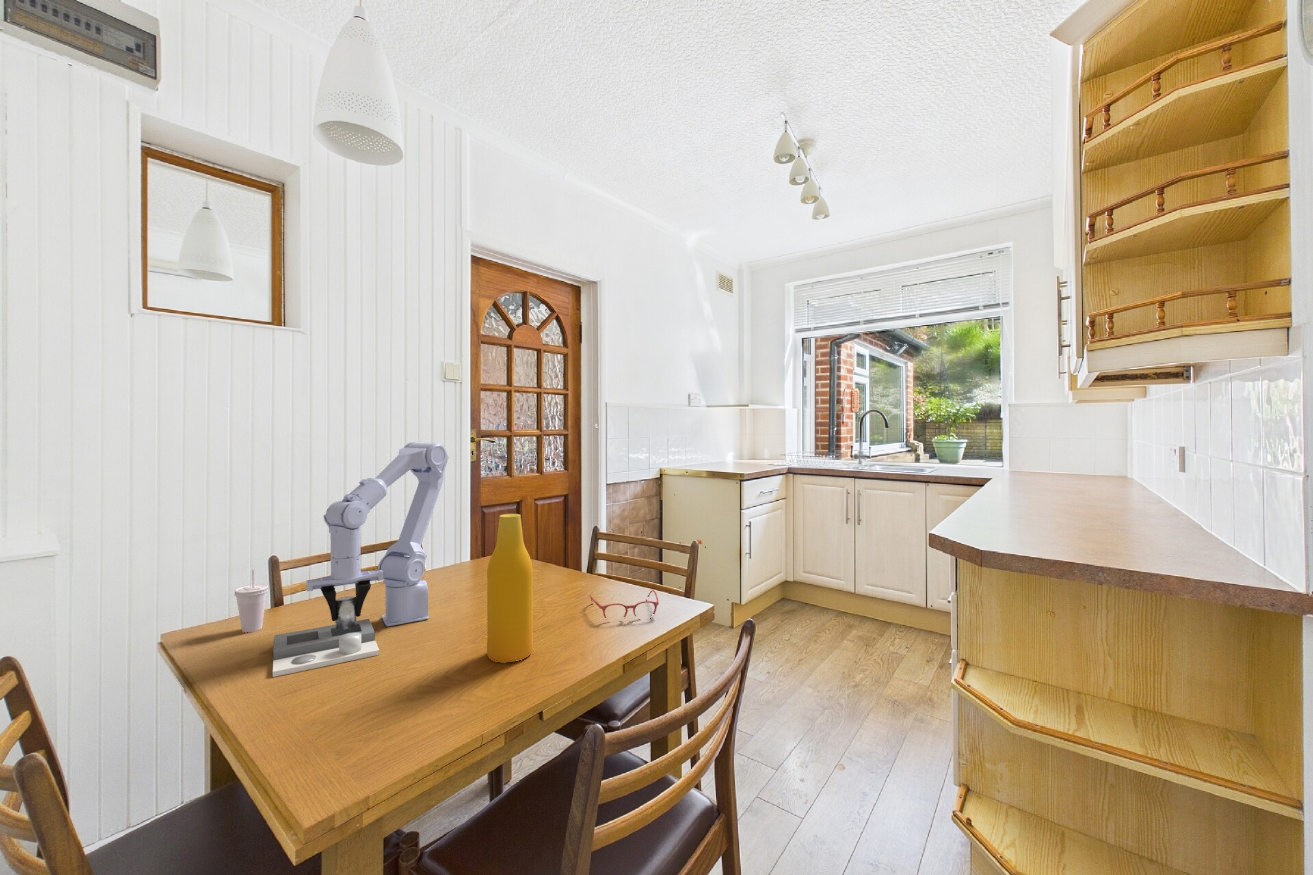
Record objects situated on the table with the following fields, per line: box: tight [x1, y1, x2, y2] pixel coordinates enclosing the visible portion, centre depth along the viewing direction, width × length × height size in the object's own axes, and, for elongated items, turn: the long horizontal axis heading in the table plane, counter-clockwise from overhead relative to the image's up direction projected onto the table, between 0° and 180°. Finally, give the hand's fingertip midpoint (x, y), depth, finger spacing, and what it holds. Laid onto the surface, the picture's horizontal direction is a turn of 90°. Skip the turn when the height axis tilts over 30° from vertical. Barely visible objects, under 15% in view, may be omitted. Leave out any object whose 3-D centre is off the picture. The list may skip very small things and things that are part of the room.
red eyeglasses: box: [589, 589, 659, 619], centre depth 139 cm, size 17×16×5 cm
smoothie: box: [233, 569, 269, 633], centre depth 126 cm, size 6×6×14 cm
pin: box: [334, 595, 357, 630], centre depth 119 cm, size 4×4×6 cm
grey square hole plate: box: [272, 618, 376, 661], centre depth 117 cm, size 18×10×2 cm, turn 124°
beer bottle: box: [486, 513, 534, 663], centre depth 112 cm, size 9×9×29 cm
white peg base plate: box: [272, 633, 380, 678], centre depth 109 cm, size 18×6×4 cm, turn 124°
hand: (346, 617), depth 119 cm, fingers closed on pin, 4 cm apart
